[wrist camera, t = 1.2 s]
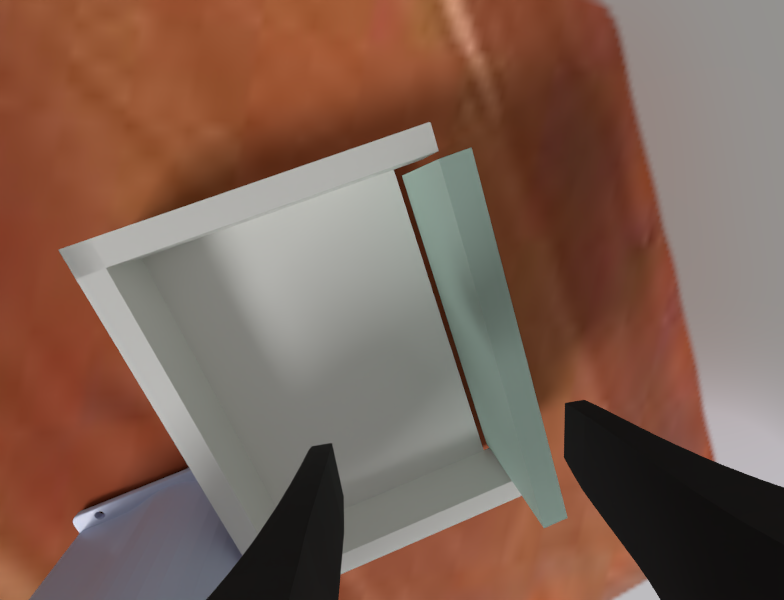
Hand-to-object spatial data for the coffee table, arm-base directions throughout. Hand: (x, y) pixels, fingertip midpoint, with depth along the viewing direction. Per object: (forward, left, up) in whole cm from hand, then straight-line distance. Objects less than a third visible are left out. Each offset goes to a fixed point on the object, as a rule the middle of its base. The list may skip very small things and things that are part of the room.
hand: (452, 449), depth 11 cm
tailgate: (+4, 0, -10) cm, 11 cm away
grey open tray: (-4, 0, -11) cm, 12 cm away
